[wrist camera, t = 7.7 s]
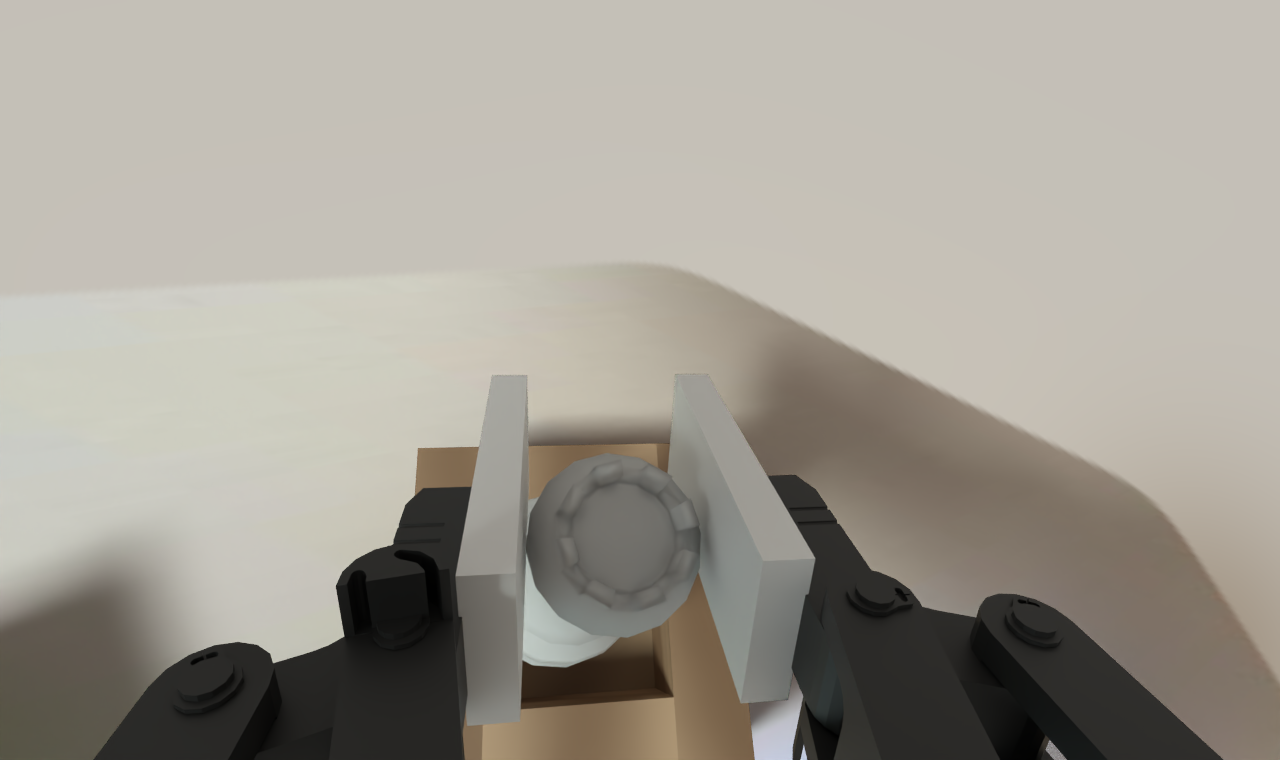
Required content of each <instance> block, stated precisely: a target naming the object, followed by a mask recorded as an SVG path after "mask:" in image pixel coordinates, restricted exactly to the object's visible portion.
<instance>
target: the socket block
mask: <svg viewBox="0 0 1280 760" xmlns="http://www.w3.org/2000/svg"><path fill="white" fill-rule="evenodd" d="M528 448H529V497H528V500H529V499H533V498H537V497H540V495H541V493H542V491H543V490H544V488H545V486H546V484H547V483H548V481H550V480H551V479H552V478H554V477H555V476H556V475H558V474H559V473H560V472H562V471H563V470H564V469H565V468H567V467H568V466H569V465H571V464H572V463H573V462H575V461H578V460H582V459H586V458H590V457H594V456H597V455H601V454H605V453H609V454H617V455H624V456H631V457H638V458H641V459H642V460H644V461H646V462H648V463H650V464H652V465H654V466H655V467H657V468H659V469H661V470H662V471H664V472H666V473H668V462H669V450H670V443H659V444H608V445H557V446H528ZM478 450H479V447H455V448H418V456H417V471H416V486H415V495H416V494H417V493H418V492H419V491H421V490H422V489H423V488H440V487H472V483H473V478H474V472H475V467H476V461H477V456H478ZM463 743H464V755H465V760H755V759H754V749H753V740H752V731H751V721H750V712H749V703H740V700H739V697H738V693H737V690H736V687H735V684H734V681H733V678H732V675H731V672H730V669H729V666H728V662H727V659H726V656H725V653H724V650H723V647H722V644H721V641H720V638H719V635H718V631H717V628H716V625H715V622H714V619H713V616H712V613H711V610H710V607H709V604H708V600H707V597H706V594H705V591H704V588H703V585H702V582H701V579H700V576H699V573H698V574H697V576H696V578H695V581H694V583H693V586H692V588H691V591H690V593H689V595H688V598H687V600H686V601H685V602H684V603H683V604H682V605H681V606H680V607H679V608H678V609H677V610H676V611H675V612H674V613H673V614H672V615H671V616H670V617H669V618H668V619H667V620H666V621H665V622H664V623H663V624H662V625H660V626H658V627H655V628H652V629H650V630H647V631H644V632H642V633H639V634H636V635H634V636H631V637H628V638H626V637H620V638H619V639H618V640H617V641H616V642H615V643H614V644H613V645H612V646H610V647H609V648H608V649H607V650H606V651H605V652H604V653H602V654H600V655H598V656H595V657H592V658H590V659H587V660H584V661H582V662H579V663H577V664H574V665H571V666H569V667H551V666H536V665H531V664H529V663H527V662H525V661H524V660H522V684H521V711H520V722H509V723H497V724H484V725H472V726H467V719H466V712H465V720H464V728H463Z"/></svg>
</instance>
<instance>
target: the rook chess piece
mask: <svg viewBox="0 0 1280 760" xmlns="http://www.w3.org/2000/svg"><path fill="white" fill-rule="evenodd" d="M672 477H673V476H671V475H669V474H668V473H666V472H664V471H662V470H661V469H659V468H657V467H655V466H654V465H652V464H650V463H648V462H646V461H644V460H642V459H641V458H638V457H631V456H624V455H617V454H609V453H605V454H601V455H597V456H594V457H590V458H586V459H582V460H578V461H575V462H573V463H572V464H571V465H569V466H568V467H567V468H565V469H564V470H563V471H562V472H560V473H559V474H558V475H556V476H555V477H554V478H552V479H551V480H550V481H548V483H547V484H546V486H545V488H544V490H543V491H542V493H541V495H540V497H537V498H533V499H529V500H528V524H527V541H526V549H525V550H526V577H525V604H524V631H523V658H522V660H524V661H525V662H527V663H529V664H531V665H536V666H551V667H569V666H571V665H574V664H577V663H579V662H582V661H584V660H587V659H590V658H592V657H595V656H598V655H600V654H602V653H604V652H605V651H606V650H607V649H608V648H609V647H610V646H612V645H613V644H614V643H615V642H616V641H617V640H618V639H619V638H620V637H626V638H628V637H631V636H634V635H636V634H639V633H642V632H644V631H647V630H650V629H652V628H655V627H658V626H660V625H662V624H663V623H664V622H665V621H666V620H667V619H668V618H669V617H670V616H671V615H672V614H673V613H674V612H675V611H676V610H677V609H678V608H679V607H680V606H681V605H682V604H683V603H684V602H685V601H686V600H687V598H688V595H689V593H690V591H691V588H692V586H693V583H694V581H695V578H696V576H697V574H698V571H699V569H700V544H701V532H700V529H699V526H700V523H699V520H698V518H697V515H696V512H695V509H694V506H693V503H692V500H691V498H690V499H688V498H687V497H686V495H685V494H684V493H683V492H682V491H681V489H680V488H679V487H678V486H677V485H676V483H675V482H674V481H673V480H672Z"/></svg>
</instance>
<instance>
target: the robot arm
mask: <svg viewBox="0 0 1280 760" xmlns="http://www.w3.org/2000/svg"><path fill="white" fill-rule="evenodd" d="M668 474H669V475H671V476H673V477H672V480H673V481H674V482H675V483H676V485H677V486H678V487H679V488H680V489H681V491H682V492H683V493H684V494H685V495H686V497H687V498H688V499H690V498H691V500H692V503H693V506H694V509H695V512H696V515H697V518H698V520H699V523H700V526H699V529H700V532H701V544H700V569H699V571H698V573H699V576H700V579H701V582H702V585H703V588H704V591H705V594H706V597H707V600H708V604H709V607H710V610H711V613H712V616H713V619H714V622H715V625H716V628H717V631H718V635H719V638H720V641H721V644H722V647H723V650H724V653H725V656H726V659H727V662H728V666H729V669H730V672H731V675H732V678H733V681H734V684H735V687H736V690H737V693H738V697H739V700H740V703H753V702H766V701H778V700H788V696H789V691H790V686H791V681H792V675H793V673H794V675H795V677H796V680H797V682H798V684H799V687H800V689H801V691H802V694H803V701H802V706H801V710H800V715H799V720H798V725H797V730H796V734H795V739H794V744H793V760H800V759H801V754H802V750H803V745H804V746H805V751H806V755H807V760H1054V759H1053V758H1052V757H1051V756H1050V755H1049V754H1048V752H1047V751H1046V750H1045V749H1046V747H1047V744H1048V742H1049V740H1051V741H1052V743H1053V744H1054V745H1055V746H1056V747H1057V748H1058V750H1059V751H1060V752H1061V753H1062V754H1063V755H1064V757H1065V758H1066V759H1067V760H1223V759H1222V758H1221V757H1220V756H1219V755H1218V754H1217V753H1215V752H1214V751H1213V750H1212V749H1211V748H1210V747H1209V746H1208V745H1207V744H1206V743H1205V742H1203V741H1202V740H1201V739H1200V738H1199V737H1198V736H1197V735H1196V734H1195V733H1194V732H1193V731H1191V730H1190V729H1189V728H1188V727H1187V726H1186V725H1185V724H1184V723H1183V722H1182V721H1180V720H1179V719H1178V718H1177V717H1176V716H1175V715H1174V714H1173V713H1172V712H1171V711H1170V710H1168V709H1167V708H1166V707H1165V706H1164V705H1163V704H1162V703H1161V702H1160V701H1159V700H1158V699H1156V698H1155V697H1154V696H1153V695H1152V694H1151V693H1150V692H1149V691H1148V690H1147V689H1145V688H1144V687H1143V686H1142V685H1141V684H1140V683H1139V682H1138V681H1137V680H1136V679H1135V678H1133V677H1132V676H1131V675H1130V674H1129V673H1128V672H1127V671H1126V670H1125V669H1124V668H1123V667H1121V666H1120V665H1119V664H1118V663H1117V662H1116V661H1115V660H1114V659H1113V658H1112V657H1110V656H1109V655H1108V654H1107V653H1106V652H1105V651H1104V650H1103V649H1102V648H1101V647H1100V646H1098V645H1097V644H1096V643H1095V642H1094V641H1093V640H1092V639H1091V638H1090V637H1089V636H1088V635H1086V634H1085V633H1084V632H1083V631H1082V630H1081V629H1080V628H1079V627H1078V626H1077V625H1075V624H1074V623H1073V622H1072V621H1071V620H1069V619H1068V618H1067V617H1065V616H1064V615H1063V614H1061V613H1060V612H1059V611H1057V610H1056V609H1054V608H1052V607H1050V606H1048V605H1046V604H1044V603H1042V602H1039V601H1037V600H1035V599H1031V598H1028V597H1024V596H1020V595H1016V594H996V595H993V596H990V597H987V598H986V599H985V600H984V601H983V603H982V604H981V606H980V608H979V611H978V614H977V617H976V618H975V617H970V616H964V615H959V614H953V613H948V612H942V611H937V610H932V609H929V608H925V607H922V606H921V604H920V602H919V601H918V599H917V598H916V597H915V596H914V594H913V593H912V592H911V590H910V589H908V588H907V587H906V586H904V585H903V584H901V583H900V582H899V581H897V580H896V579H894V578H891V577H889V576H887V575H884V574H882V573H880V572H876V571H871V569H870V568H869V566H868V565H867V563H866V562H865V561H864V559H863V558H862V556H861V555H860V553H859V552H858V550H857V549H856V547H855V546H854V545H853V543H852V542H851V540H850V539H849V537H848V536H847V534H846V533H845V531H844V530H843V529H842V527H841V526H840V524H837V520H836V518H835V517H834V515H833V514H832V513H831V511H830V510H827V505H826V504H825V502H824V501H823V499H822V498H821V497H820V495H819V494H818V492H817V491H816V489H814V488H813V487H811V486H810V485H809V484H807V483H806V482H804V481H803V480H802V479H800V478H799V477H797V476H796V475H780V476H767V475H766V473H765V471H764V470H763V468H762V466H761V465H760V463H759V461H758V459H757V458H756V456H755V454H754V453H753V451H752V449H751V447H750V446H749V444H748V442H747V441H746V439H745V437H744V435H743V434H742V432H741V430H740V429H739V427H738V425H737V423H736V422H735V420H734V418H733V417H732V415H731V413H730V411H729V410H728V408H727V406H726V405H725V403H724V401H723V400H722V398H721V396H720V394H719V393H718V391H717V389H716V388H715V386H714V384H713V382H712V381H711V379H710V377H709V376H708V374H675V386H674V399H673V412H672V424H671V437H670V450H669V462H668ZM528 497H529V448H528V397H527V375H492V379H491V385H490V390H489V396H488V401H487V406H486V412H485V417H484V423H483V428H482V434H481V439H480V445H479V450H478V456H477V461H476V467H475V472H474V478H473V483H472V487H440V488H423V489H422V490H421V491H419V492H418V493H417V494H416V495H415V496H414V497H413V498H412V499H411V500H410V501H409V502H408V503H407V504H406V505H405V508H404V511H403V514H402V517H401V520H400V523H399V528H398V529H397V532H396V535H395V538H394V544H393V545H391V546H387V547H384V548H380V549H376V550H373V551H371V552H369V553H367V554H365V555H363V556H362V557H360V558H358V559H356V560H355V561H354V562H353V563H352V564H350V565H349V566H348V567H347V568H346V569H345V570H344V571H343V572H342V574H341V576H340V578H339V580H338V583H337V585H336V590H337V595H338V601H339V607H340V613H341V619H342V625H343V631H344V636H345V637H343V638H341V639H339V640H338V641H336V642H334V643H332V644H330V645H329V646H326V647H323V648H321V649H318V650H316V651H313V652H310V653H307V654H303V655H300V656H297V657H293V658H290V659H286V660H283V661H280V662H276V663H273V662H272V659H271V655H270V653H268V652H267V651H265V650H264V649H262V648H261V647H259V646H258V645H254V644H247V643H241V642H235V643H228V644H221V645H214V646H212V647H209V648H206V649H204V650H201V651H198V652H196V653H193V654H190V655H188V656H187V657H185V658H184V659H182V660H180V661H179V662H177V663H176V664H174V665H172V666H171V667H169V668H168V669H166V670H165V671H164V672H163V673H162V674H161V675H160V676H159V677H158V678H157V679H156V680H155V681H154V682H153V683H152V684H151V685H150V686H149V687H148V688H147V690H146V691H145V692H144V694H143V695H142V696H141V698H140V699H139V700H138V702H137V703H136V704H135V706H134V707H133V708H132V710H131V711H130V712H129V714H128V715H127V716H126V717H125V719H124V720H123V721H122V723H121V724H120V725H119V727H118V728H117V729H116V731H115V732H114V733H113V735H112V736H111V737H110V739H109V740H108V741H107V743H106V744H105V745H104V747H103V748H102V749H101V751H100V752H99V753H98V755H97V756H96V757H95V759H94V760H465V755H464V743H463V728H464V720H465V712H466V719H467V726H472V725H484V724H497V723H509V722H520V711H521V684H522V658H523V631H524V604H525V577H526V550H525V549H526V541H527V524H528Z"/></svg>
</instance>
